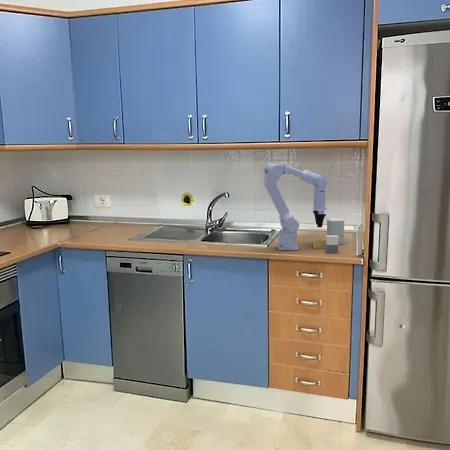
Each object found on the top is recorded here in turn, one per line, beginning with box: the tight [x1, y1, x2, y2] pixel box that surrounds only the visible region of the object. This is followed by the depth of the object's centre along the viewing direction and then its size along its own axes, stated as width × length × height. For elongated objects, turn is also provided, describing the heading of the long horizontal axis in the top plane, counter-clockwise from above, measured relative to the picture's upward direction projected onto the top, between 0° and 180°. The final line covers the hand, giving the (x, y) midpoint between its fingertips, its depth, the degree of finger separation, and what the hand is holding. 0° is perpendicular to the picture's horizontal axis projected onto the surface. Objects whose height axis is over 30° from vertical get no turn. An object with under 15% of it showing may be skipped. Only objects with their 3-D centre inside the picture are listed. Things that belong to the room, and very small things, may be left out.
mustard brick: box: [312, 238, 326, 249], centre depth 237 cm, size 6×3×4 cm, turn 84°
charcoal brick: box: [325, 244, 339, 254], centre depth 226 cm, size 6×3×4 cm, turn 84°
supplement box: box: [326, 217, 345, 245], centre depth 244 cm, size 7×7×13 cm
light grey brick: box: [325, 234, 339, 246], centre depth 226 cm, size 6×3×4 cm, turn 84°
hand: (318, 225), depth 238 cm, fingers open, 7 cm apart
